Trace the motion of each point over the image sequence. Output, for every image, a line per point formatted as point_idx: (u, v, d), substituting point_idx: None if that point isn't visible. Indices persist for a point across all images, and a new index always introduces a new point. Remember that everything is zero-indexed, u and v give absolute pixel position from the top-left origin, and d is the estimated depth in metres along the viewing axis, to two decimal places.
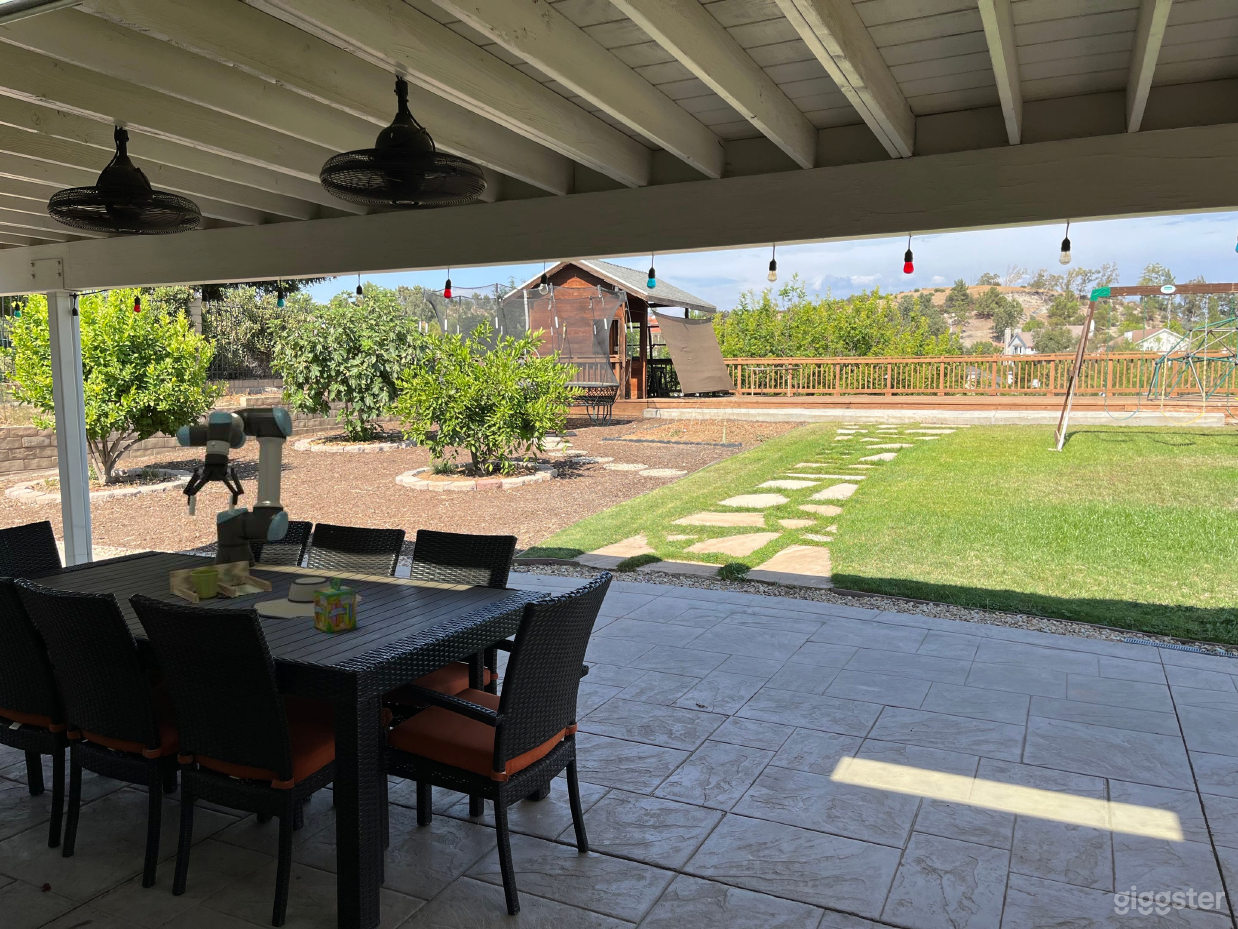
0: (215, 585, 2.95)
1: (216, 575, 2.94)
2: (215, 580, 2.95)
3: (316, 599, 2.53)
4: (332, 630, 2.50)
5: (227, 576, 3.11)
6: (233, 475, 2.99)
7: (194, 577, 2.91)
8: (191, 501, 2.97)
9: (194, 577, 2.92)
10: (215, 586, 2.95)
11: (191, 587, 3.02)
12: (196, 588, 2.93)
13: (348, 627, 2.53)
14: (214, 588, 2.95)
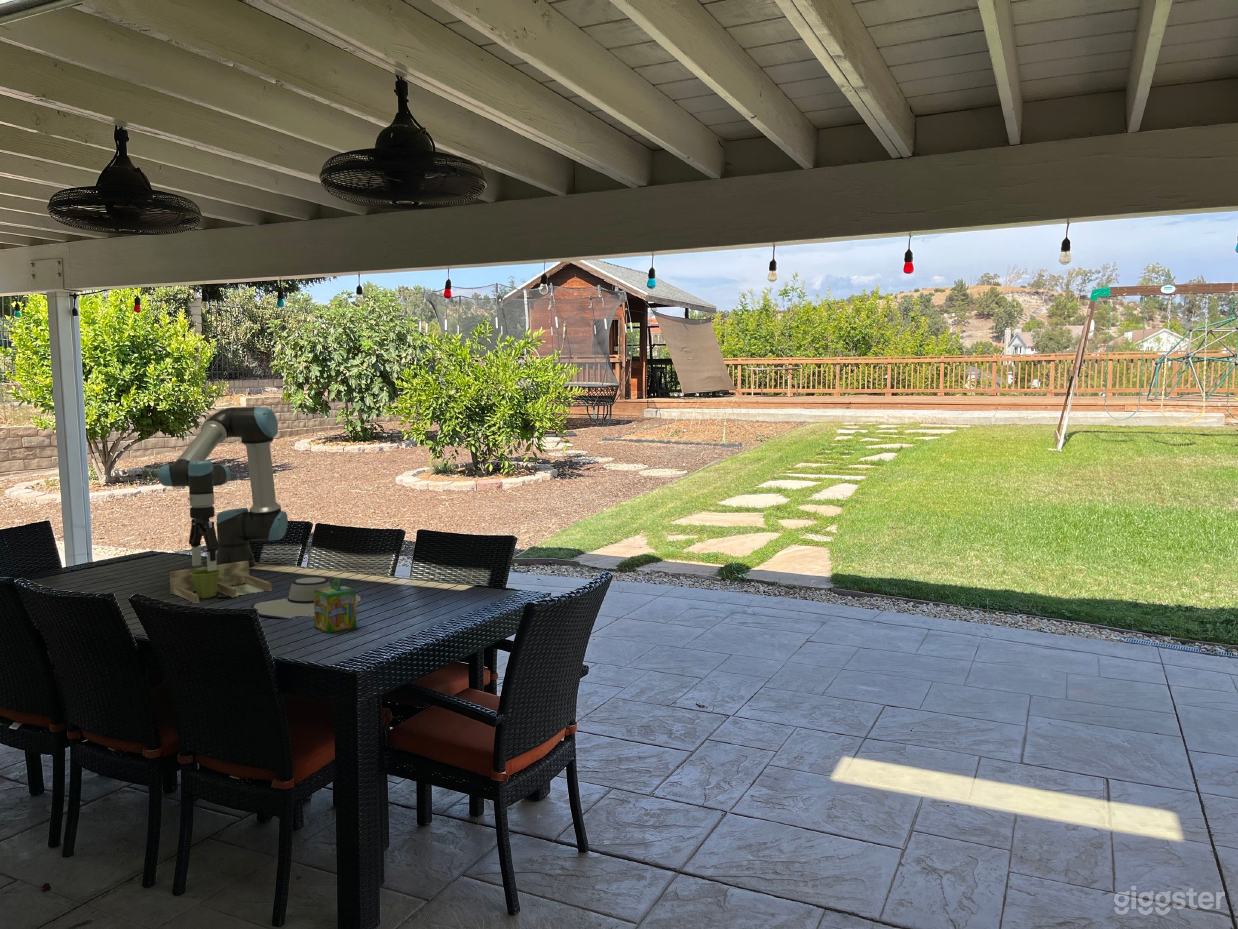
0: (215, 585, 2.95)
1: (216, 575, 2.94)
2: (215, 580, 2.95)
3: (316, 599, 2.53)
4: (332, 630, 2.50)
5: (227, 576, 3.11)
6: (207, 531, 2.88)
7: (194, 577, 2.91)
8: (192, 553, 2.98)
9: (194, 577, 2.92)
10: (215, 586, 2.95)
11: (191, 587, 3.02)
12: (196, 588, 2.93)
13: (348, 627, 2.53)
14: (214, 588, 2.95)
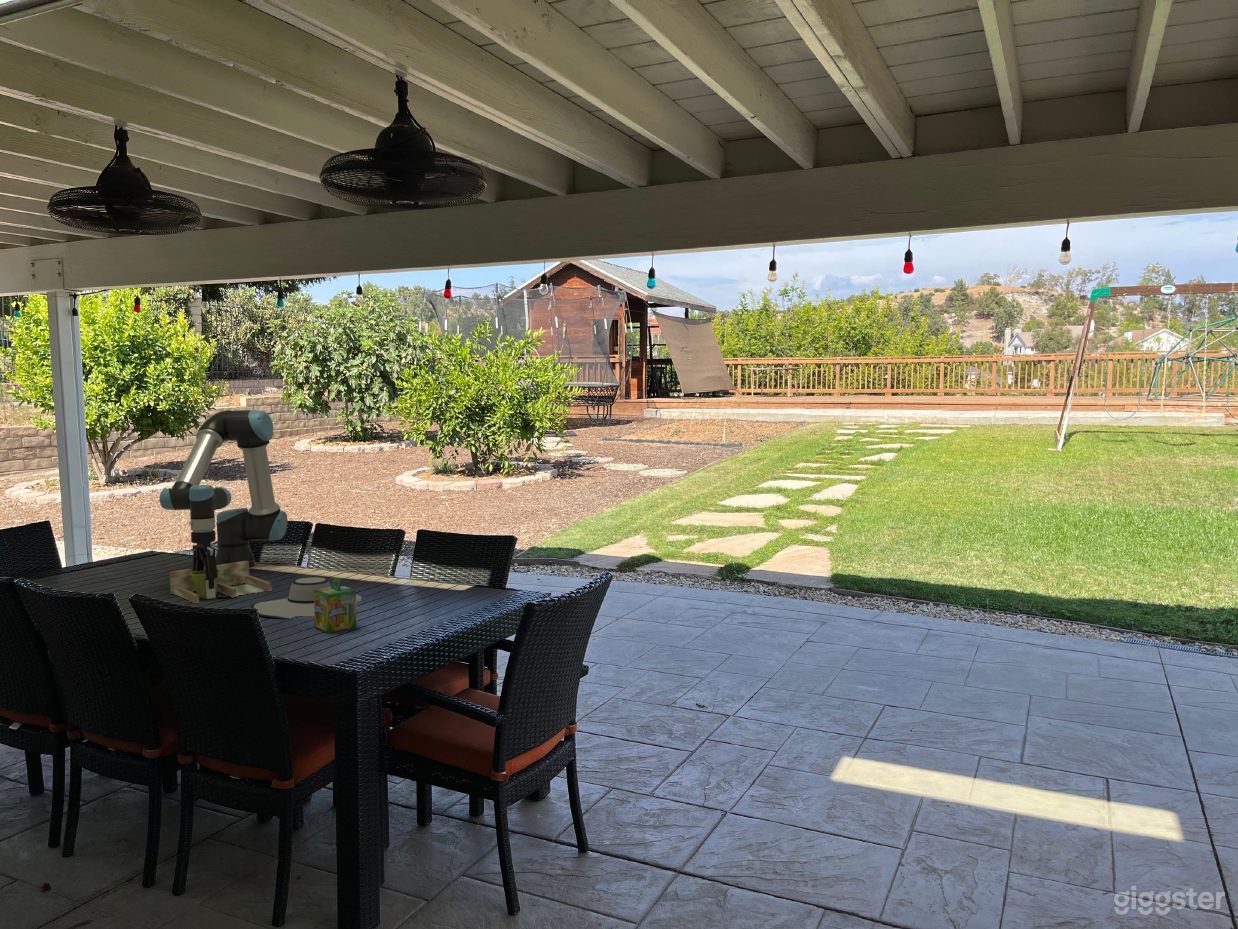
0: (215, 585, 2.95)
1: None
2: (215, 580, 2.95)
3: (316, 599, 2.53)
4: (332, 630, 2.50)
5: (227, 576, 3.11)
6: (207, 558, 2.89)
7: (194, 577, 2.91)
8: None
9: (194, 577, 2.92)
10: (215, 586, 2.95)
11: (191, 587, 3.02)
12: (196, 588, 2.93)
13: (348, 627, 2.53)
14: None
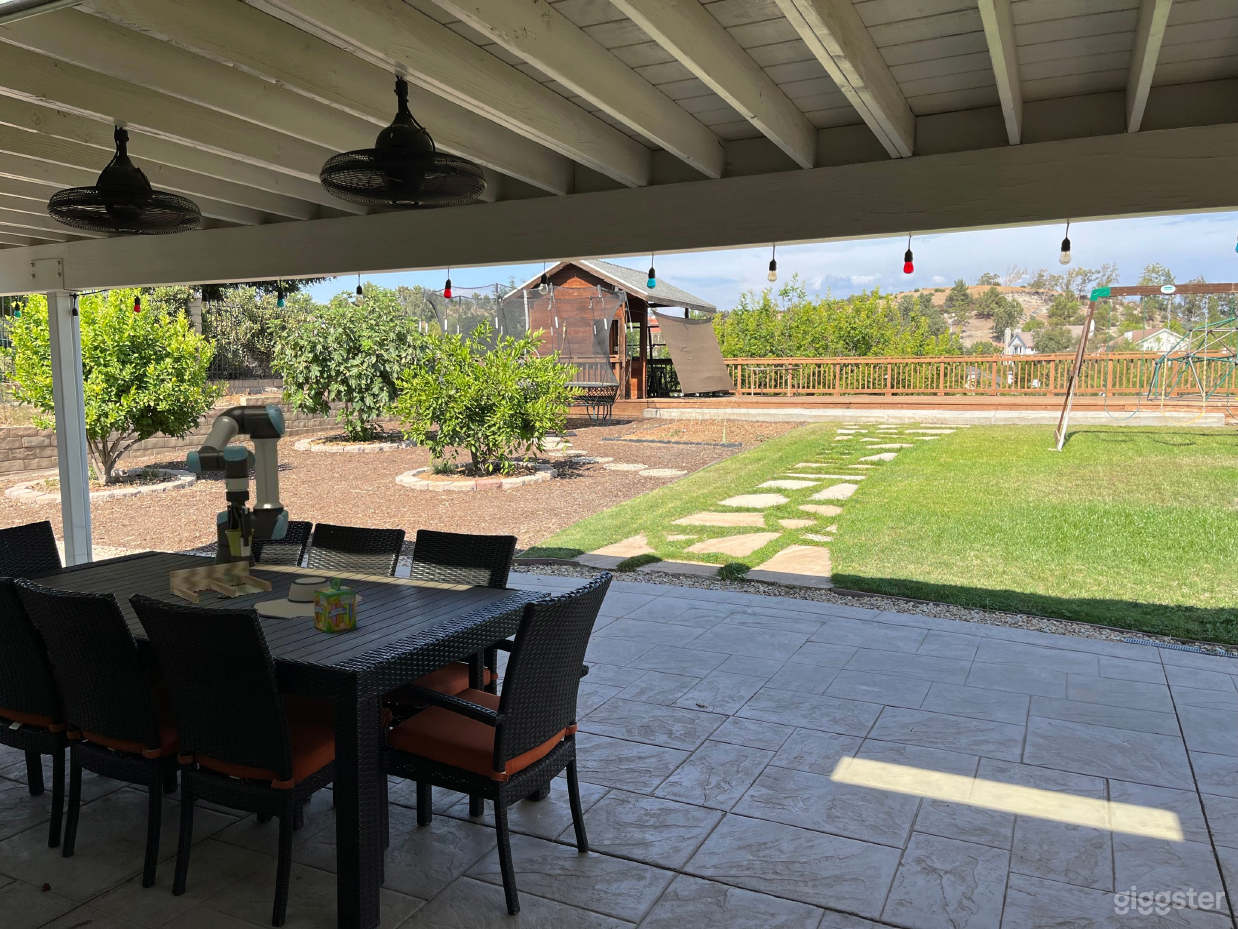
0: (249, 543, 3.03)
1: None
2: (249, 538, 3.02)
3: (316, 599, 2.53)
4: (332, 630, 2.50)
5: (227, 576, 3.11)
6: (242, 516, 2.97)
7: (229, 535, 2.99)
8: None
9: (229, 535, 2.99)
10: None
11: (191, 587, 3.02)
12: (231, 546, 3.00)
13: (348, 627, 2.53)
14: None
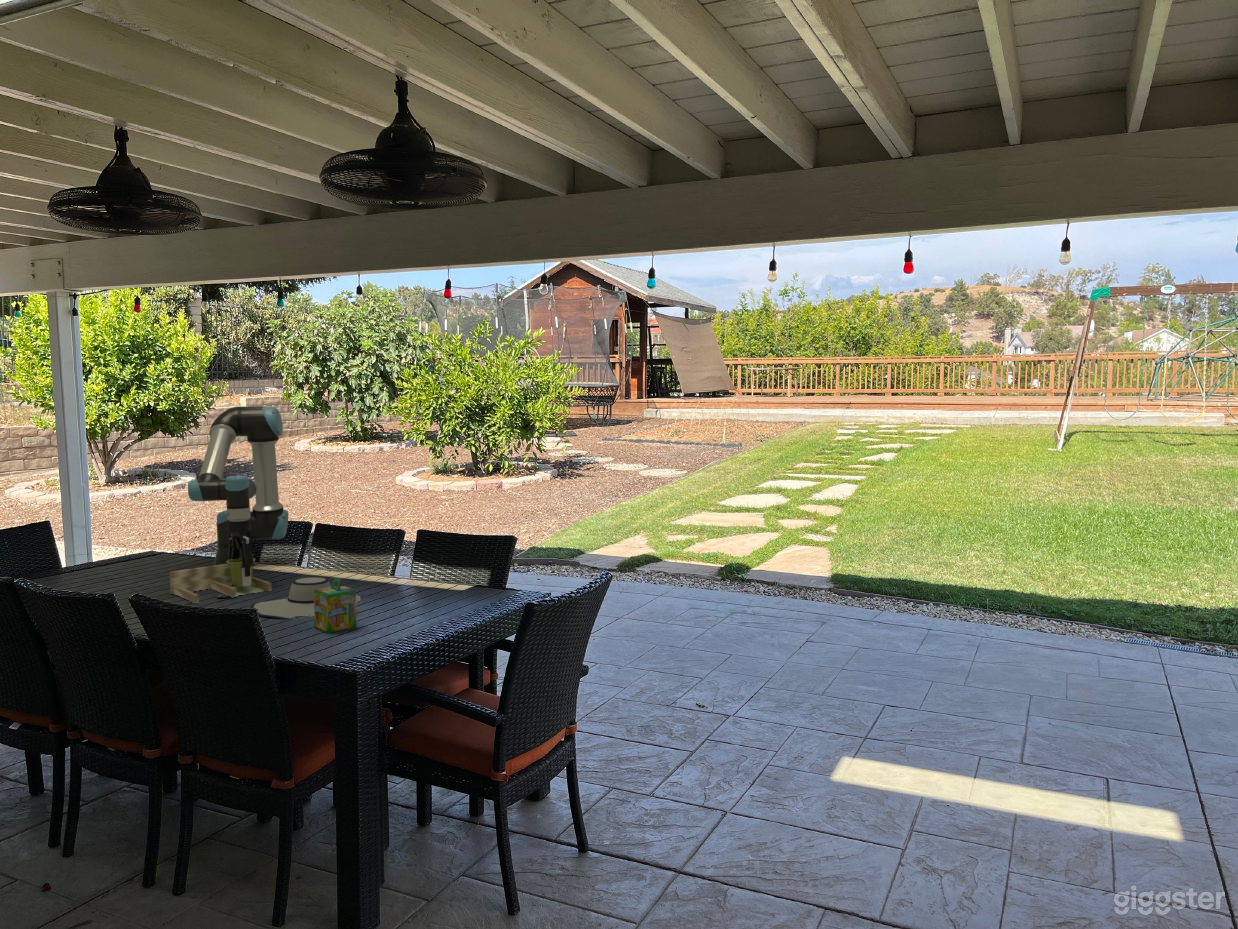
0: None
1: None
2: (251, 568, 3.03)
3: (316, 599, 2.53)
4: (332, 630, 2.50)
5: (227, 576, 3.11)
6: (243, 546, 2.98)
7: (230, 565, 3.00)
8: None
9: (230, 565, 3.00)
10: None
11: (191, 587, 3.02)
12: (232, 576, 3.01)
13: (348, 627, 2.53)
14: None
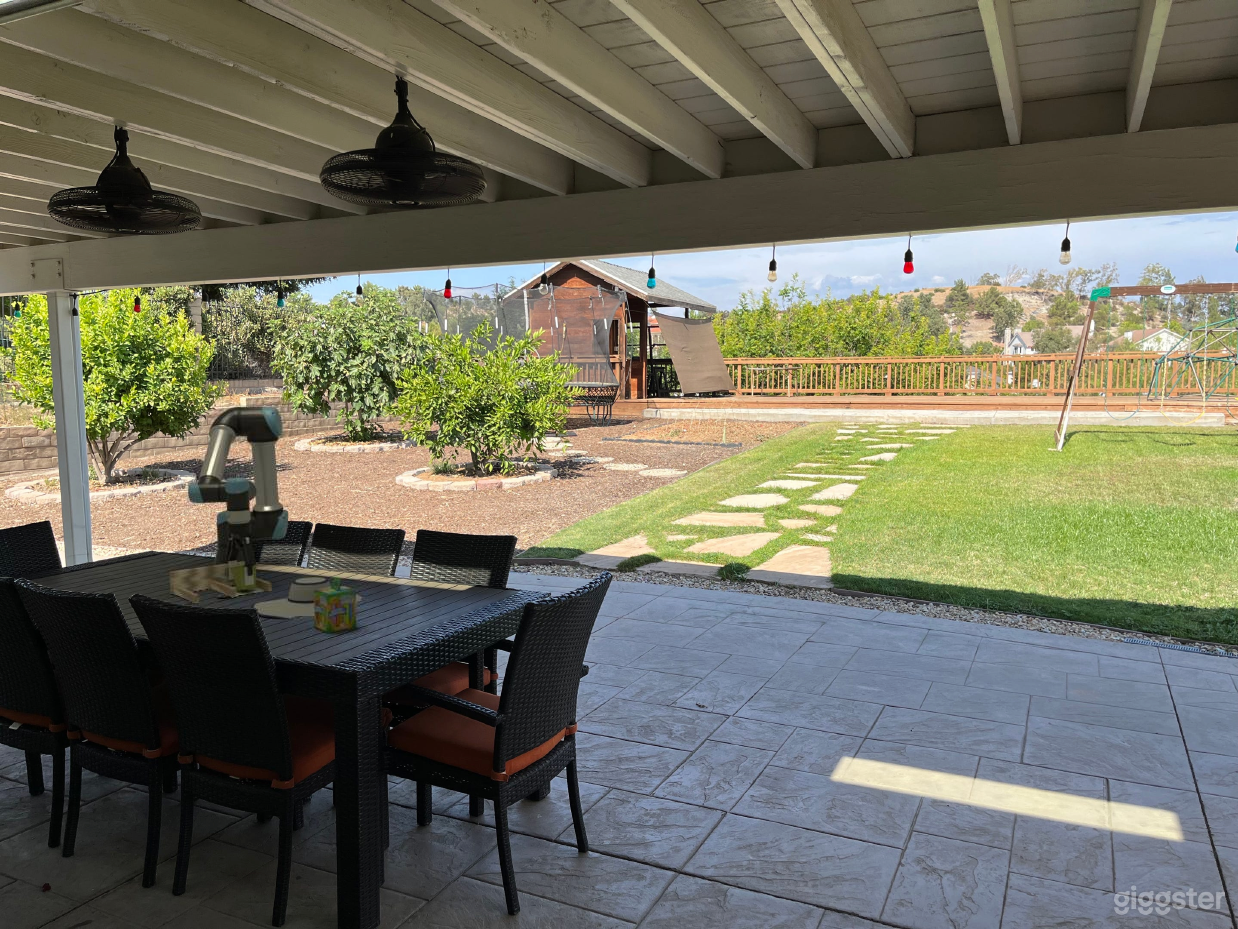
0: (254, 576, 3.02)
1: (254, 565, 3.02)
2: (253, 571, 3.02)
3: (316, 599, 2.53)
4: (332, 630, 2.50)
5: (227, 576, 3.11)
6: (244, 546, 2.97)
7: (233, 569, 2.99)
8: None
9: (233, 570, 2.99)
10: (254, 577, 3.02)
11: (191, 587, 3.02)
12: (236, 580, 2.99)
13: (348, 627, 2.53)
14: None
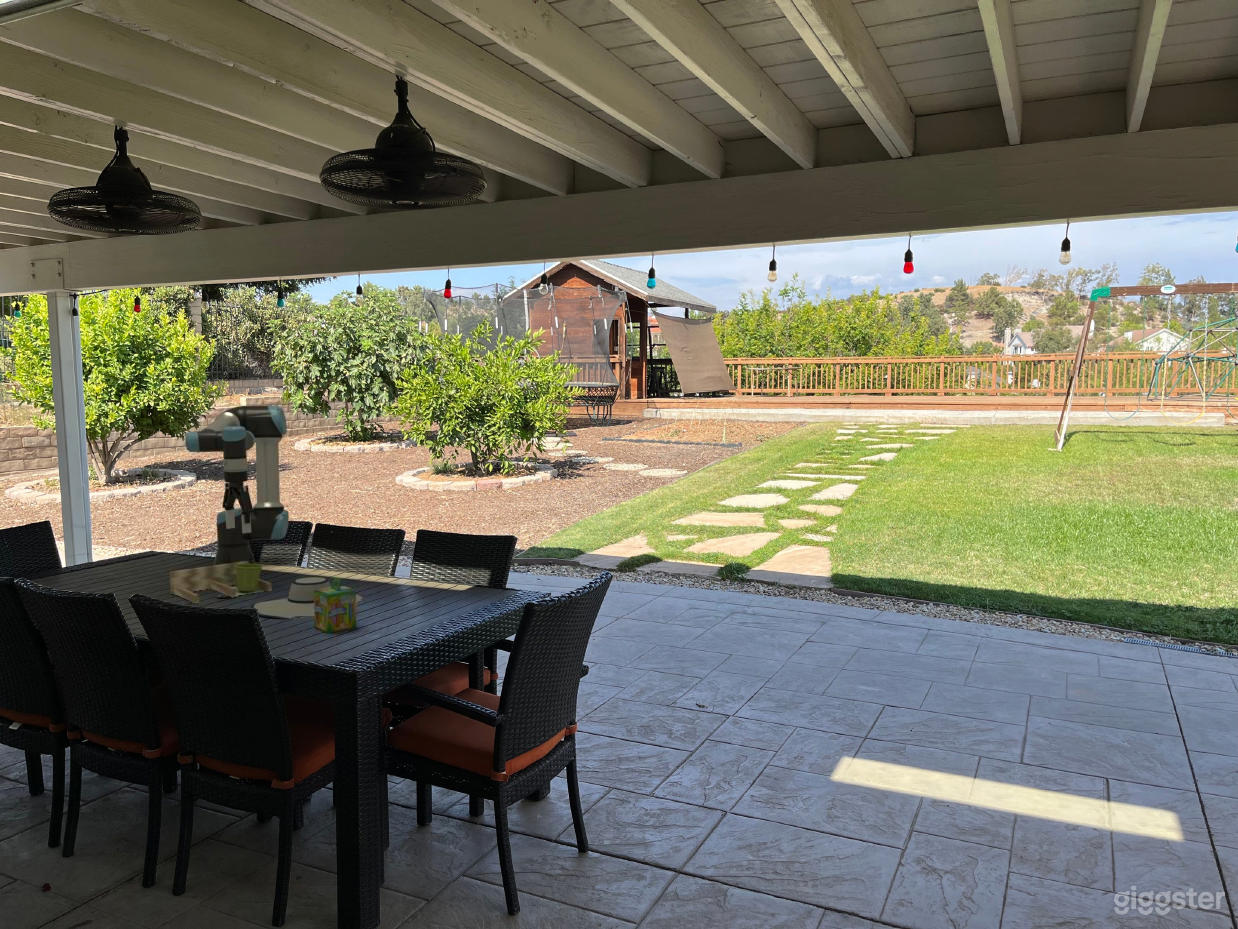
0: (256, 580, 3.01)
1: (259, 569, 3.01)
2: (257, 575, 3.01)
3: (316, 599, 2.53)
4: (332, 630, 2.50)
5: (227, 576, 3.11)
6: (241, 494, 2.97)
7: (238, 569, 2.98)
8: (226, 516, 3.08)
9: (237, 570, 2.99)
10: (256, 581, 3.02)
11: (191, 587, 3.02)
12: (238, 580, 2.99)
13: (348, 627, 2.53)
14: (255, 582, 3.01)
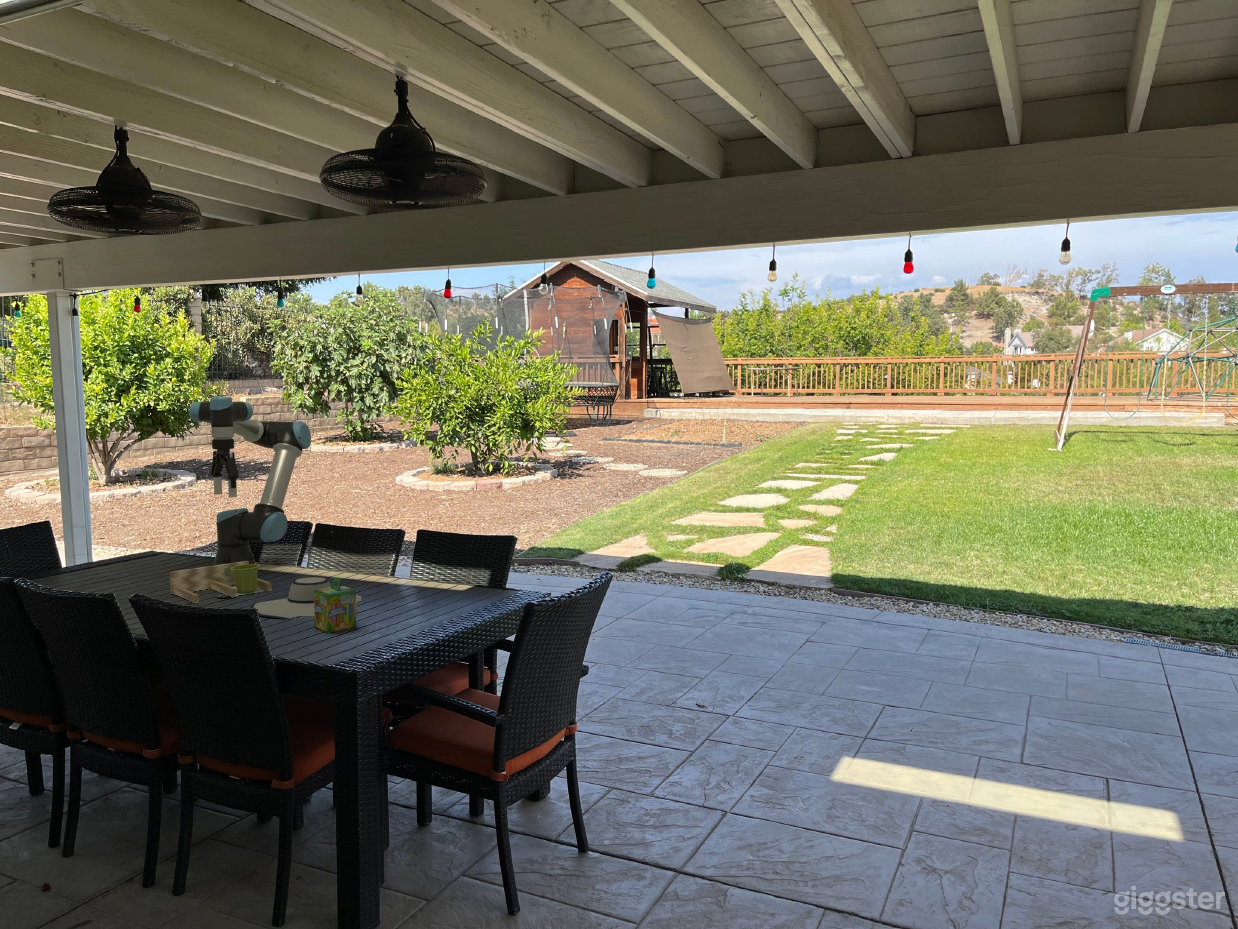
0: (254, 580, 3.01)
1: (255, 569, 3.00)
2: (254, 575, 3.00)
3: (316, 599, 2.53)
4: (332, 630, 2.50)
5: (227, 576, 3.11)
6: (227, 460, 3.12)
7: (234, 572, 2.98)
8: (214, 482, 3.22)
9: (234, 572, 2.98)
10: (254, 581, 3.01)
11: (191, 587, 3.02)
12: (236, 583, 2.99)
13: (348, 627, 2.53)
14: (253, 583, 3.01)
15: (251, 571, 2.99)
